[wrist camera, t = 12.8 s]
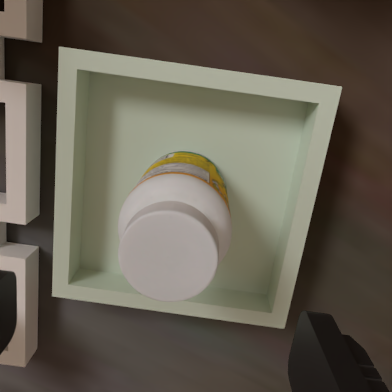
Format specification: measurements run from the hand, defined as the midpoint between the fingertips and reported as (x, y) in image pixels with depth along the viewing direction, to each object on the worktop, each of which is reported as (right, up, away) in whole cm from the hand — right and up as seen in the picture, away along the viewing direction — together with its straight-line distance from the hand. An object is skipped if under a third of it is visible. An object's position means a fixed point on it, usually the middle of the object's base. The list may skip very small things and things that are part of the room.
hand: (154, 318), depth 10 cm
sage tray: (+1, +4, +14) cm, 15 cm away
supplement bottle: (0, +4, +13) cm, 14 cm away
